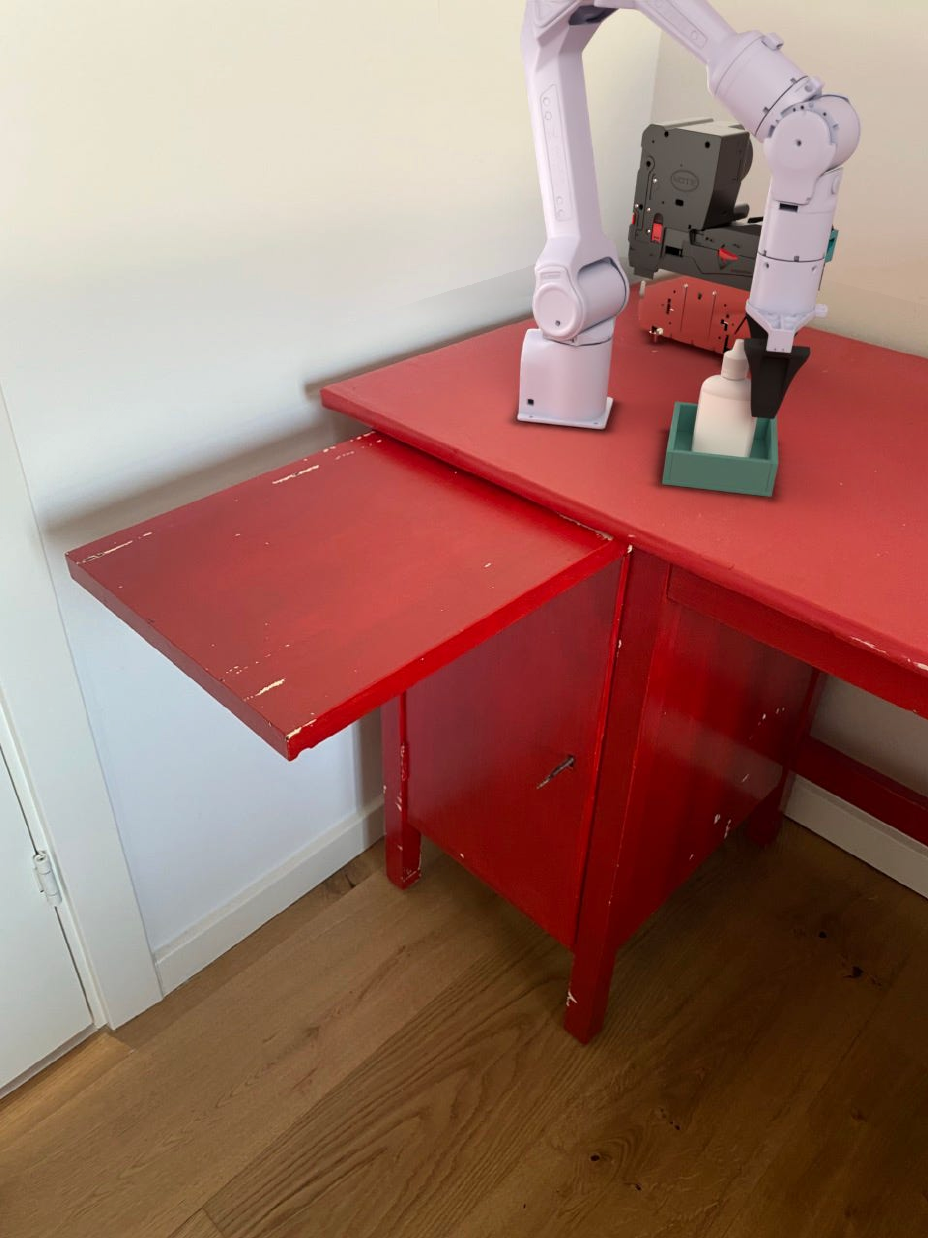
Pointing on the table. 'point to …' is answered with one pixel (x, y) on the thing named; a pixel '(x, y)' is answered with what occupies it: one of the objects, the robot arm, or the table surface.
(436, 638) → the table surface
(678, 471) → the desk tidy
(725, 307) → the bill acceptor
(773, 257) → the robot arm
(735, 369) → the eye dropper bottle
